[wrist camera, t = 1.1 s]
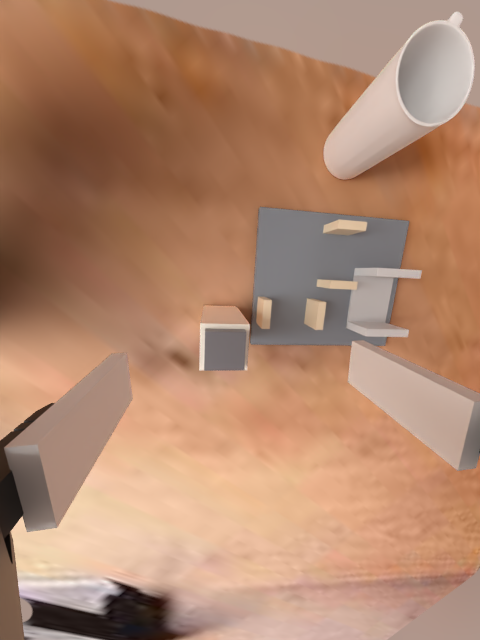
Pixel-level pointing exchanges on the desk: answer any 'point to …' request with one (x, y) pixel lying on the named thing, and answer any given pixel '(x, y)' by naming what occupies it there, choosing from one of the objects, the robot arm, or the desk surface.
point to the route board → (326, 278)
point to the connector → (223, 338)
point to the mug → (405, 99)
